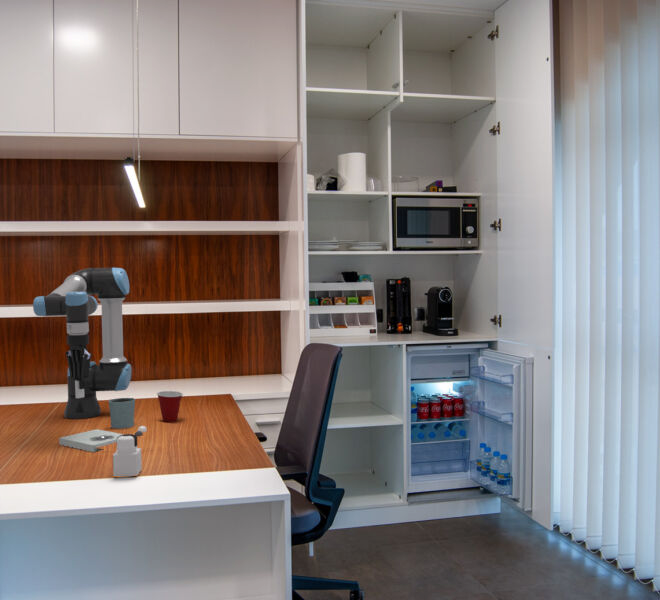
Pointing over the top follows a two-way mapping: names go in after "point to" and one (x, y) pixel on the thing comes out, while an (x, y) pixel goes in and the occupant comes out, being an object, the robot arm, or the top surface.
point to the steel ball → (102, 437)
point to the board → (89, 440)
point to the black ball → (138, 433)
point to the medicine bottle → (127, 456)
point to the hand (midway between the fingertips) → (80, 397)
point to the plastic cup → (169, 405)
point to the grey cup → (122, 412)
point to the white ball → (142, 429)
